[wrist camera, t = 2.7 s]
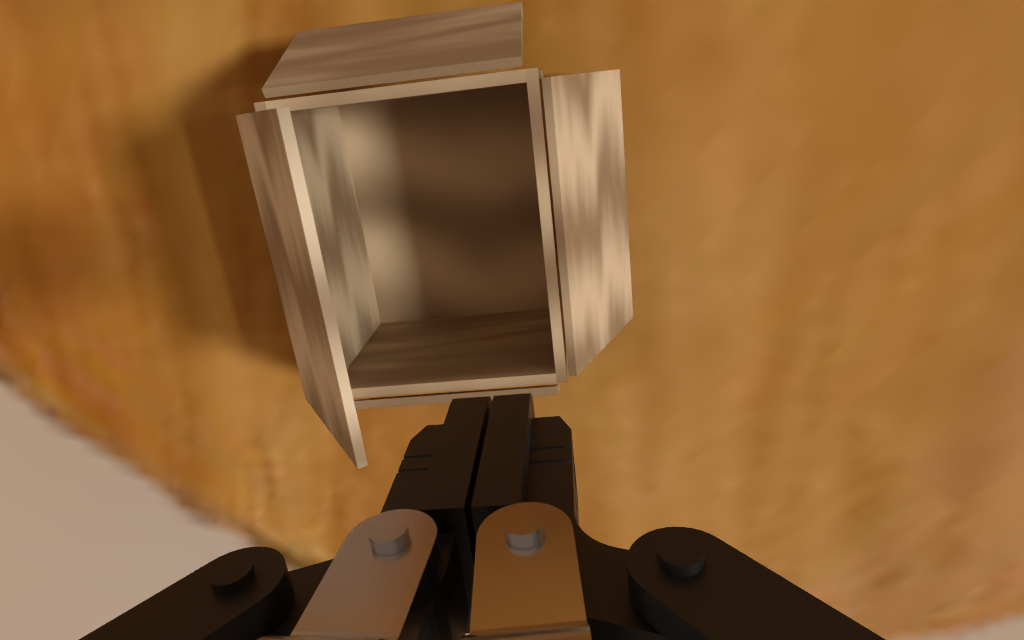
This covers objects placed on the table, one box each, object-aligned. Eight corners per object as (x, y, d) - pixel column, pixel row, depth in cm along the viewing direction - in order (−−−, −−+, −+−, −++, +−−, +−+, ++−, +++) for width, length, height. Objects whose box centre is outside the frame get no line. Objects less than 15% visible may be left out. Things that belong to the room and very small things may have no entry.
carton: (320, 39, 35) (231, 23, 26) (610, 0, 34) (631, -32, 24) (385, 370, 42) (334, 455, 33) (630, 351, 41) (653, 435, 31)
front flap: (235, 115, 27) (276, 108, 20) (245, 113, 27) (289, 106, 20) (305, 398, 31) (358, 469, 25) (313, 396, 31) (367, 465, 25)
